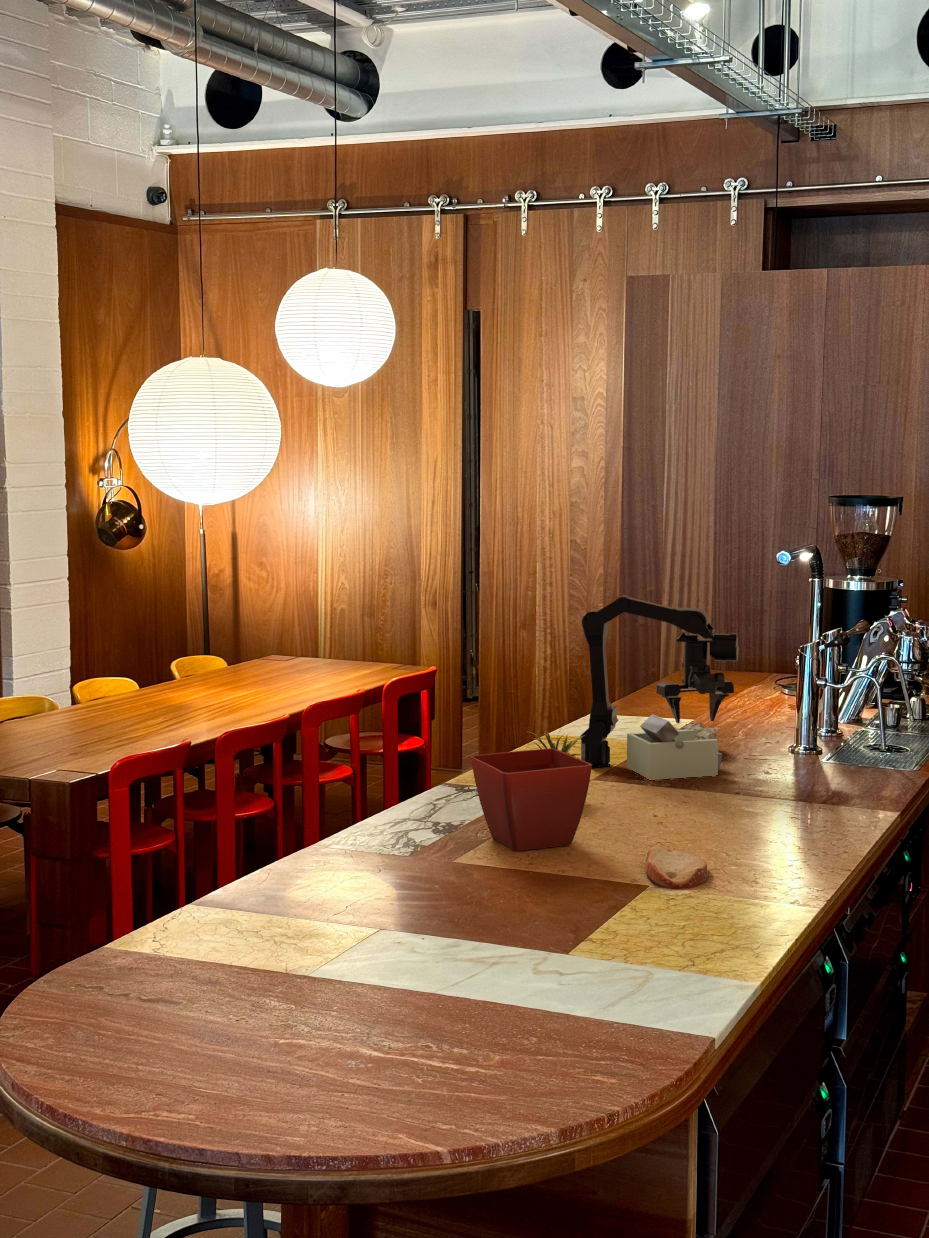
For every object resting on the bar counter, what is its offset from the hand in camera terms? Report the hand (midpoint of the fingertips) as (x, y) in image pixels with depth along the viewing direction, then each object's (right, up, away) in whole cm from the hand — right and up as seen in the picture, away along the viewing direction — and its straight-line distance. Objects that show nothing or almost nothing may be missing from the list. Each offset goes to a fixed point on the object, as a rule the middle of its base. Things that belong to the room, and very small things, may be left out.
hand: (695, 722), depth 336 cm
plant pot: (-44, -20, -63) cm, 79 cm away
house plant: (-38, -16, -26) cm, 48 cm away
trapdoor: (-7, -7, -1) cm, 10 cm away
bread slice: (-19, -22, -84) cm, 89 cm away
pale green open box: (-6, -12, 0) cm, 14 cm away
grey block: (0, -9, +1) cm, 9 cm away
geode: (+3, -10, +22) cm, 25 cm away
